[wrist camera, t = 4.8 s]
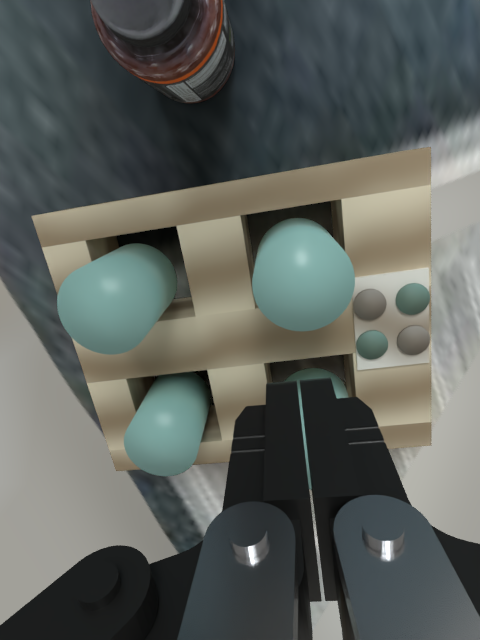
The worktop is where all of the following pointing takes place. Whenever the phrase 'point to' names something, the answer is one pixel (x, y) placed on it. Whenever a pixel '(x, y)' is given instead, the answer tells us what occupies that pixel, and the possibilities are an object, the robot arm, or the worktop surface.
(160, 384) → the button
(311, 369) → the button
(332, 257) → the button
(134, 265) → the button
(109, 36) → the supplement bottle
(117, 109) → the worktop surface
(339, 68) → the worktop surface
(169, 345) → the console
